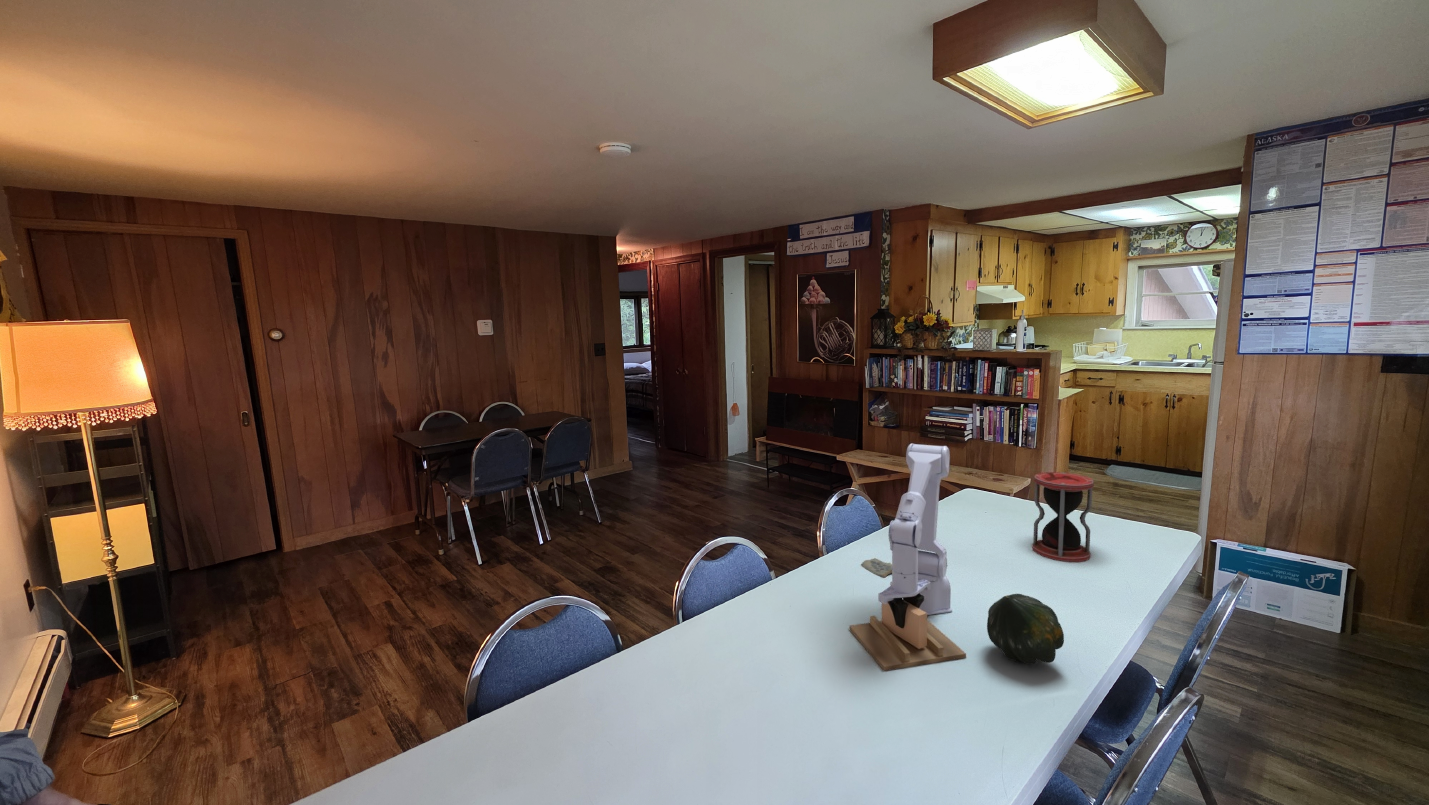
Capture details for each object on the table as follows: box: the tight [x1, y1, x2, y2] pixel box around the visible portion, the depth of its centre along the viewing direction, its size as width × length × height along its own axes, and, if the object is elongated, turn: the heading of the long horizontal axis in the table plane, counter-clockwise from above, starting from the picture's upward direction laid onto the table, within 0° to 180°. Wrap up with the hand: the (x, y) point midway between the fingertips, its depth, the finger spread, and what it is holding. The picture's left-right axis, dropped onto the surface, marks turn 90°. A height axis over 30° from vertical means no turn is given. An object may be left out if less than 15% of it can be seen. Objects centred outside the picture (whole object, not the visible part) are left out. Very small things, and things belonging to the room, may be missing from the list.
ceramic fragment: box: [860, 558, 892, 578], centre depth 174 cm, size 11×3×10 cm
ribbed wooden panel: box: [848, 615, 967, 672], centre depth 133 cm, size 20×18×3 cm
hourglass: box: [1031, 471, 1095, 564], centre depth 180 cm, size 16×16×25 cm
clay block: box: [881, 601, 928, 649], centre depth 133 cm, size 2×12×8 cm, turn 26°
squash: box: [986, 593, 1065, 665], centre depth 125 cm, size 14×15×15 cm
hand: (904, 624), depth 133 cm, fingers closed on clay block, 2 cm apart
